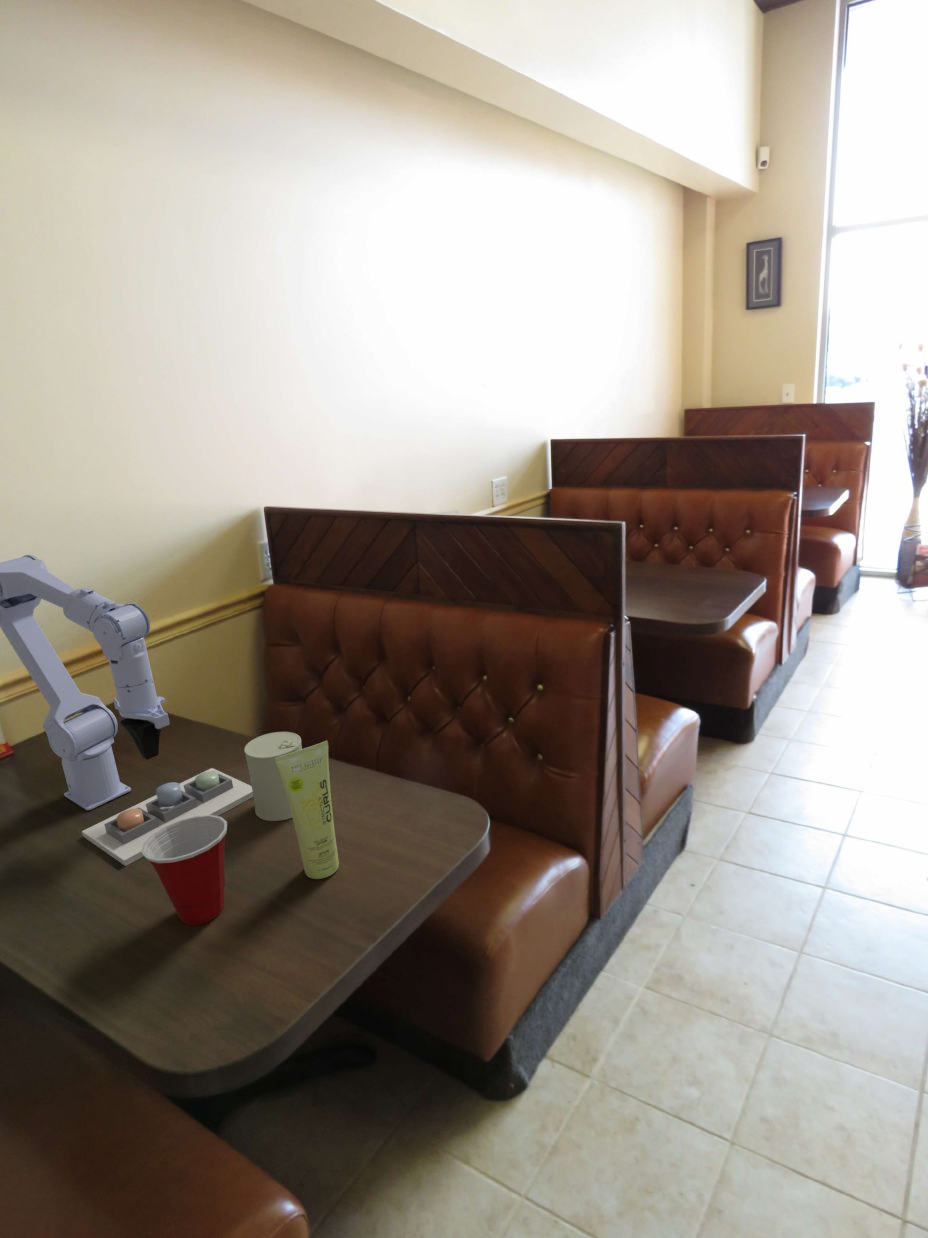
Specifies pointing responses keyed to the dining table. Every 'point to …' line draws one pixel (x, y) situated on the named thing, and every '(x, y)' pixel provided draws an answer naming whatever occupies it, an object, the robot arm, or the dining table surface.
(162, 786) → the slate button
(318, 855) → the tube
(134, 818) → the peach button
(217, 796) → the console
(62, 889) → the dining table surface
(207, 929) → the dining table surface
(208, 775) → the sage button
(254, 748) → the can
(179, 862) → the plastic cup
